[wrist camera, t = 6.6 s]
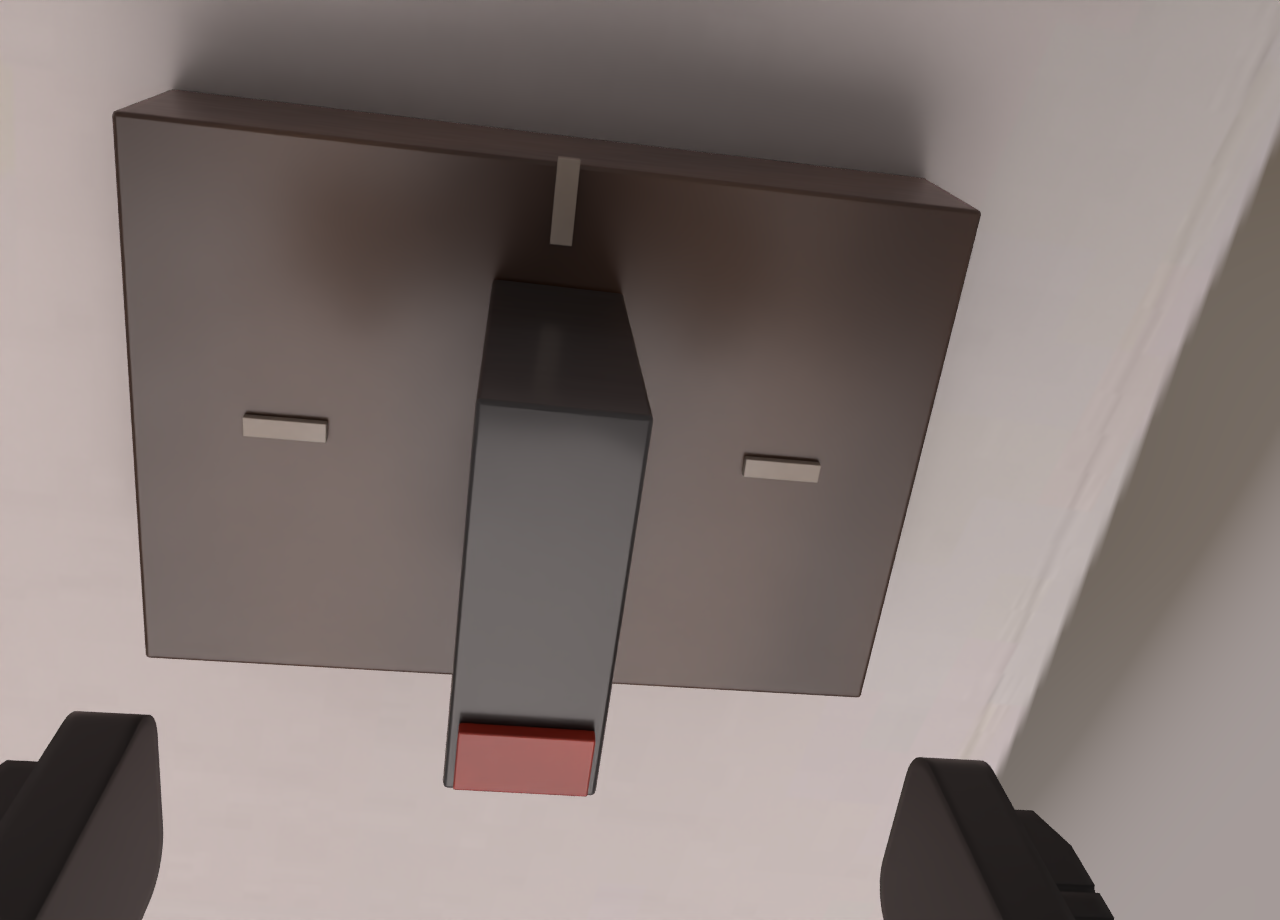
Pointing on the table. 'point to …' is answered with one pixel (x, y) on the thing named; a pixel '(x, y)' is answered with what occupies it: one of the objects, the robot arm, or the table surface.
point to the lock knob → (546, 540)
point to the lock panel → (450, 366)
